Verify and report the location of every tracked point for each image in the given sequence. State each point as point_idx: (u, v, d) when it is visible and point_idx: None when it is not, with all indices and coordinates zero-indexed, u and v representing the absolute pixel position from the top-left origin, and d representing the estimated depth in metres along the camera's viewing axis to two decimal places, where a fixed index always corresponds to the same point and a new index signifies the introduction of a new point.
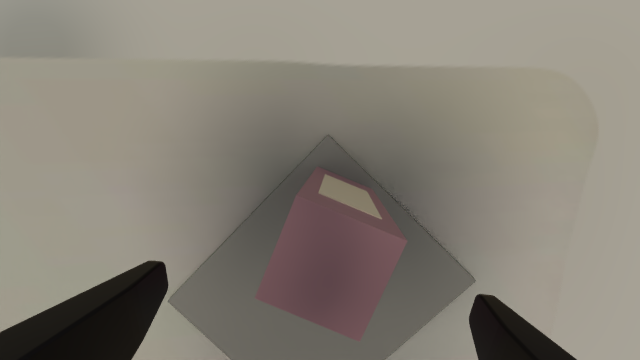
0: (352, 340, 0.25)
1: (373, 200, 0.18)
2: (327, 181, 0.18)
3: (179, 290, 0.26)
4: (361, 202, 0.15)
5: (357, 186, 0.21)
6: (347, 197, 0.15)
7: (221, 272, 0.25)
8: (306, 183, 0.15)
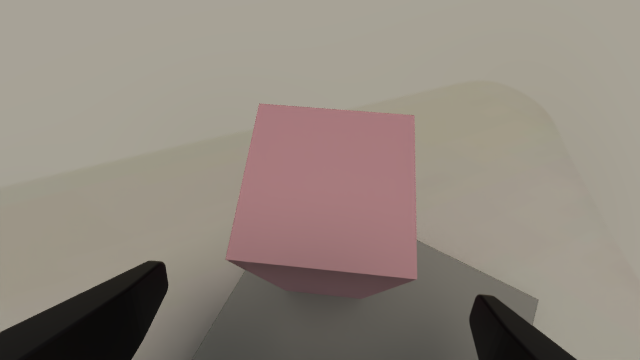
0: None
1: None
2: None
3: None
4: None
5: None
6: None
7: None
8: None
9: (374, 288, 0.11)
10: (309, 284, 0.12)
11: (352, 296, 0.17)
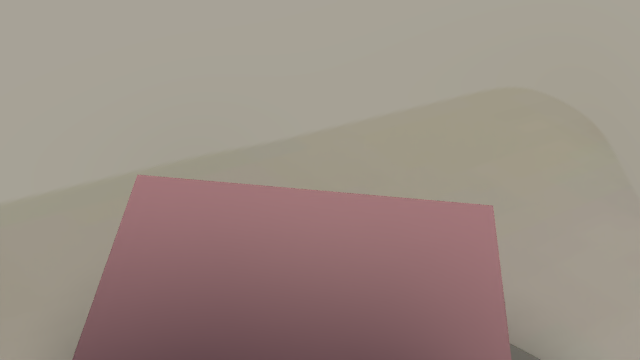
0: None
1: None
2: None
3: None
4: None
5: None
6: None
7: None
8: None
9: None
10: None
11: None
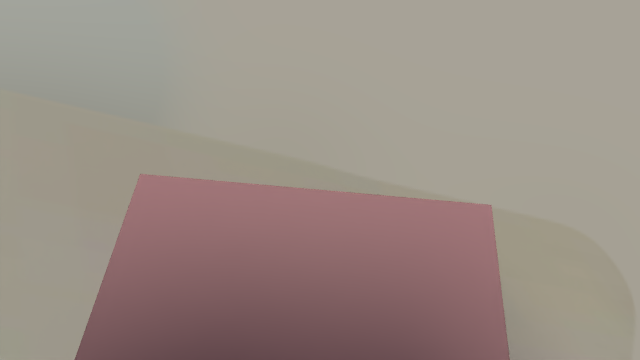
0: None
1: None
2: None
3: None
4: None
5: None
6: None
7: None
8: None
9: None
10: None
11: None
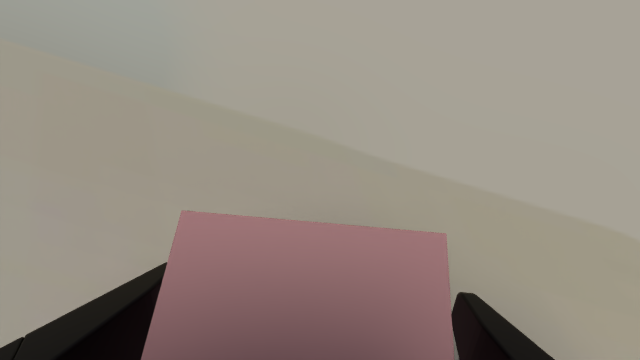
0: None
1: None
2: None
3: None
4: None
5: None
6: None
7: None
8: None
9: None
10: None
11: None
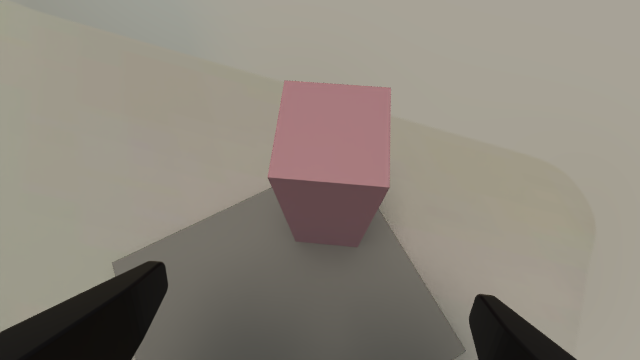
0: None
1: None
2: None
3: (132, 254, 0.22)
4: None
5: None
6: None
7: (187, 248, 0.23)
8: None
9: (365, 214, 0.15)
10: (317, 218, 0.16)
11: (349, 242, 0.21)
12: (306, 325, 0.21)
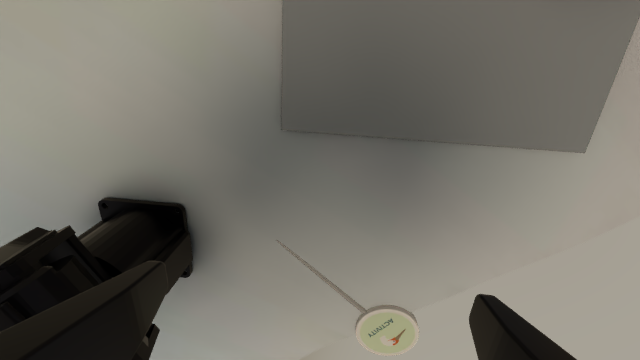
0: (423, 91, 0.19)
1: None
2: None
3: None
4: None
5: None
6: None
7: None
8: None
9: None
10: None
11: None
12: (469, 39, 0.17)
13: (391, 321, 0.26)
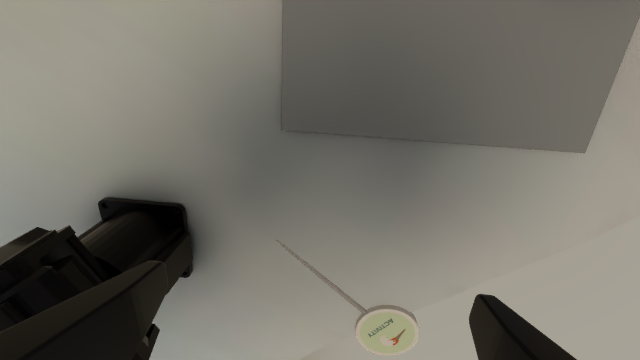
0: (423, 91, 0.19)
1: None
2: None
3: None
4: None
5: None
6: None
7: None
8: None
9: None
10: None
11: None
12: (469, 39, 0.17)
13: (391, 321, 0.26)
